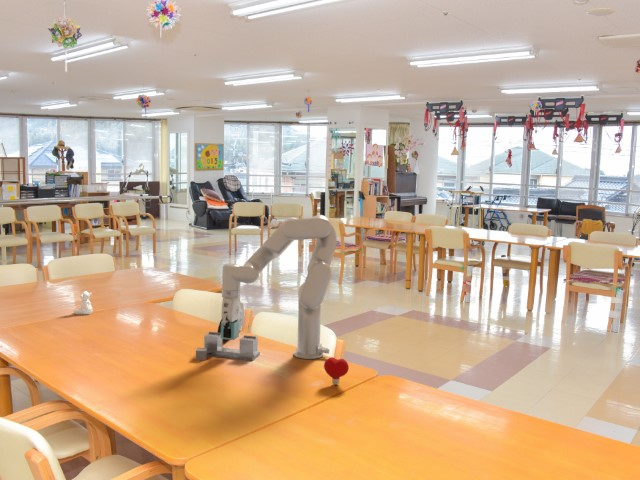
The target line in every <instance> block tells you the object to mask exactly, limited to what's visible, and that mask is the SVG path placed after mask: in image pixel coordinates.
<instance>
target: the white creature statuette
mask: <svg viewBox="0 0 640 480" xmlns="http://www.w3.org/2000/svg"><path fill="white" fill-rule="evenodd" d="M92 293H93V292H88V291H86V290H85V291H82V292H81V294H80V299H81V302H80V308H76V309H73V314H74V315H87V316H88V315H91V314H93V308H94V307H92V303H91V301H90V300H89V299H90V296H92V295H93V294H92Z"/></svg>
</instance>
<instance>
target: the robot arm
mask: <svg viewBox="0 0 640 480" xmlns="http://www.w3.org/2000/svg"><path fill="white" fill-rule="evenodd" d="M313 239H316V240H315V241H316V242H315V245H314V248H313V251H312V254H311V258H310V260H309V262H308V265H307V268H306V270H307V272H306V273H307V274H306V277H305V280H304V282H303V283H302V284H301V285H300V287H299V289H298V292H297V298H298V301H297V302H298V303H297V304H298V305H297V306H298V307H297V308H298V311H297V314H298V316H297V349H294V350H293V355H294V356H295V358H298V359H302V360H303V359H304V360H315V359H320V358H321V357H323V356H324V354H328V355H329V354H330V348H328V347H324V346H323V345H322V344H323V343H321V318H322V317H321V316H322V315H321V314H322V311H321V310H322V307H321V306H322V303H323V301H324V299H325V296H326V294H327V293H326V292H327V290H328V287H329V286H330V282H331V278H332V269H331V264H332V261H333V258H334V256H335V255H334V254H335V251H336V248H337V240H338V239H337V232H336V230H335V227H334V225H333V223H332V222H331V221H330V220H329V219H328V217H326V216H325V215H323V214H317V215H314V216H313V217H310V218H296V217H292V216H291V217H288V218H286V219H285V220H284V221H283V222H282V223H281V224H280V225H279V226H278V227H277V228H276V229H275V230H274V231H273V233H272V234H271V235H270V236H269V237H268V238H267V239H266V240H265V241H264V242H262V245H260V247H259V248H258V249H257V250H256V251H255V252H254V253H253V254H252V256H250V257H249V258H248V259H247V261H245V262H244V264H243V265H239V263H232V262H231V263H225V264H223V265H222V268H221V270H222V273H221V274H222V276H221V298H222V301H221V302H222V303H221V313H220V315H221V317H220V318H221V319H222V324H223V328H224V330H223V337H225V338H231V328H230V326H231V322H234V321H235V320H237V319H238V318H240V315H241V310H240V302H241V283H245V284H253V283H255V282H256V281H258V280H259V278H260V277H259V276H260V273H261V272H262V271H263V270H264V269H265V268H266V267H267V265H269V264H270V263H271V262H272V261H273V260H275V259H277V258H279V257H280V256H281V255H282V254H283V253H284V252H285V251H286V250H287V249H288V248H289V246H291V244H293V242H294V241H300V240H301V241H302V240H313ZM226 320H229V321H226ZM226 322H228V323H229V325H228V323H226Z"/></svg>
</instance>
